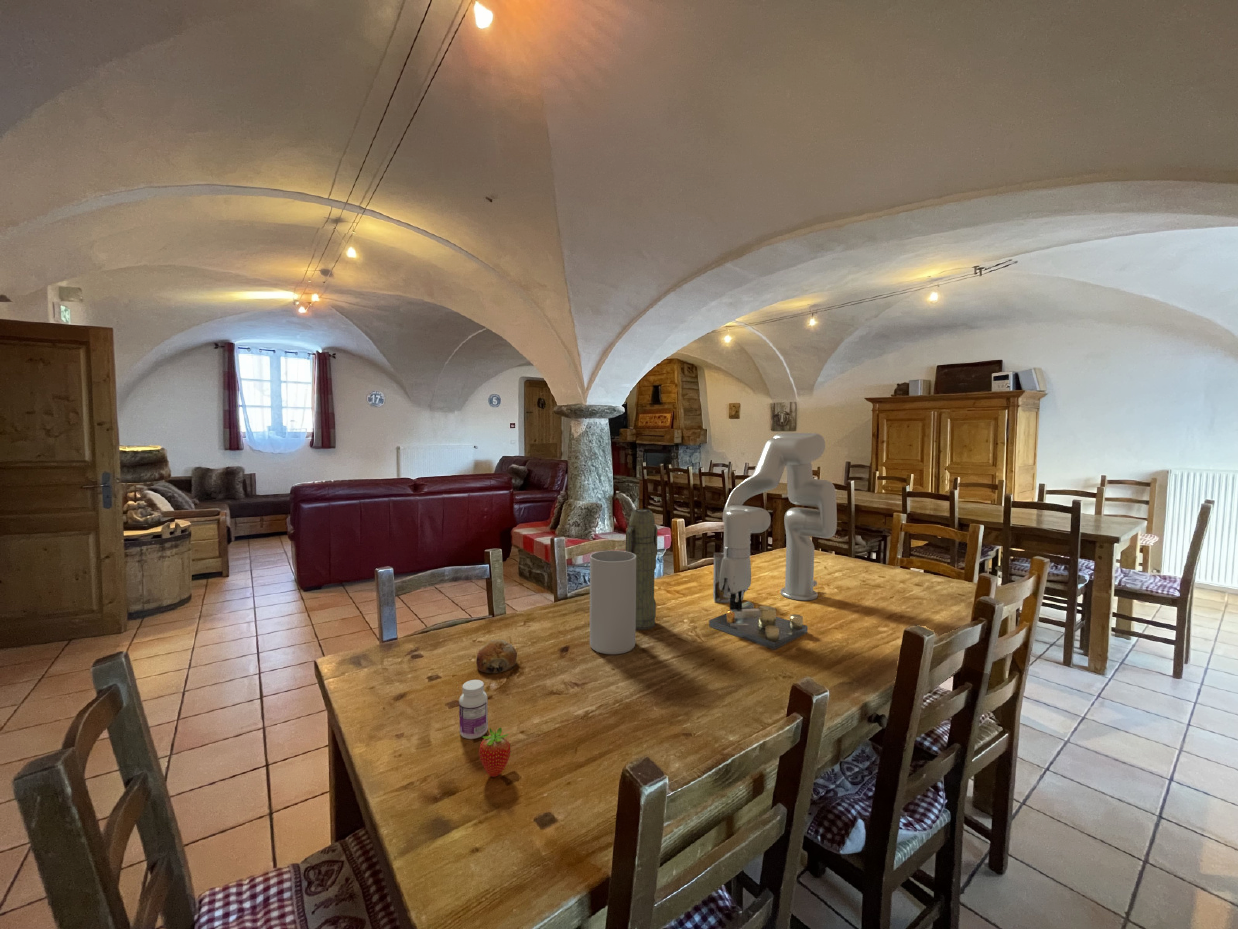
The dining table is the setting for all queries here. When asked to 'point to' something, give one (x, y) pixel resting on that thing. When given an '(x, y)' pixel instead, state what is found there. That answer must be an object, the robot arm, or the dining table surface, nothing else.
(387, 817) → the dining table surface
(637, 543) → the stone statue
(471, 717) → the pill bottle
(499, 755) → the fruit
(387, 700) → the dining table surface
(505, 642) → the bread roll
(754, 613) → the ball-ended bar
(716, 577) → the coffee box
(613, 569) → the cylinder vase
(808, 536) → the robot arm
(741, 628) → the base
